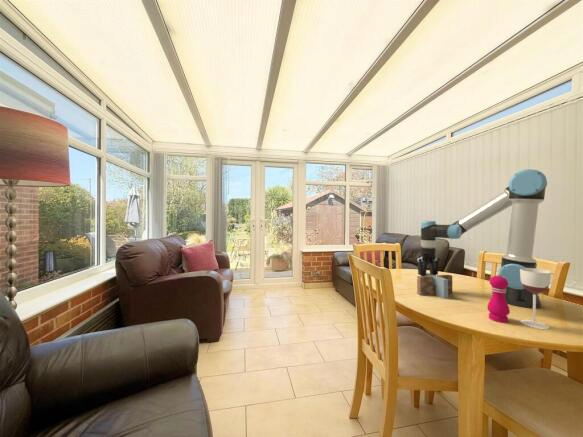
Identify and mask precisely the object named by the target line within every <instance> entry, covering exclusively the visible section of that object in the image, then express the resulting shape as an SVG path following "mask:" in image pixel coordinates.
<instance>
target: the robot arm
mask: <svg viewBox="0 0 583 437" xmlns="http://www.w3.org/2000/svg"><path fill="white" fill-rule="evenodd" d="M547 179H548V178H547V176H546V175H545V174H544V173H543V172H542V171H540V170H537V169H522V170H519V171H517V172H516V173H514V174H512V176H511V177H510V179H509V181H508V186H507V187H505V188H504V191H503V192H502V193H500V194H498V195H496V196H494V198H492V199H490V200H488V201H487V202H485V203H484V204H482V205H481V206H479V207H477V208H476V209H474V210H472V211H471V212H469V213H468V214H466V215H464V216H463V217H461V218H460V219H458V220H457V221H455V222H453V223H451V224H437V222H436V221H435V220H422V221H421V222H420V223H421V224H420V246H421V247H420V254H421V255H420V257H419V258H416V261H417V274H418V276H426V272H427V269H428V268H429V273H430V274H433V275H436V276H437V275H439V262H440V258H439V257H436V254H437V253H436V250H437V249H436V246H437V245H436V244H437V242H436V238H437V239H438V238H439V239H449V240H450V239H451V240H453V239H455V240H459V239H460V238H461V237H462V235H464V234H465V233H466V232H468V231H470V230H471V229H473V228H474V227H477V226H479V225H480V224H482V223H484V222H486V221H487V220H489V219H491V218H493V217H494V216H495V215H498V214H500V213H502V212H503V211H504V210H506V209H508V208H510V207H511V213H510V222H509V228H508V229H509V230H508V231H509V232H508V239H507V240H508V241H507V248H506V254H504V255H502V256H501V264H500V268H499V270H498V273H501V277H504V278H505V279H506V280H507V281H508V286H507V287H506V288H505V289H506V293H505V300H506V302H507V304H508V305H509V304H510V305H512V306H517V307H521V308H528V309H533V293H531V292H530V291H528V290H526V289H525V288H524V287H523V285H522V283H521V278H520V268H535V269H537V266H538V264H537V260H536V259H535V258H533V251H534V245H535V244H534V242H535V236H536V228H537V221H538V220H537V219H538V213H539V212H538V211H539V205H540V204H541V203H542V202H544V201H545V195H546V189H547V186H548V181H547ZM541 307H542V300H541V299H540V296H539V294H536V309H538V308H541Z"/></svg>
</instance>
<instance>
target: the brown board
mask: <svg viewBox="0 0 583 437" xmlns="http://www.w3.org/2000/svg"><path fill="white" fill-rule="evenodd" d="M436 276H439V277H442V278H445V279H447V280H448V295H449V294H453V275H451V274H438V275H436ZM416 277H417V278H416V280H417V281H416V284H417V286H416V288H417V289H416V294H417V295H419V296H429V295H431V296H432V295H433V296H434V295H436V285H433V277H432V276H421V275H417V276H416Z"/></svg>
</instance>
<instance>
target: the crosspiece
mask: <svg viewBox="0 0 583 437" xmlns="http://www.w3.org/2000/svg"><path fill="white" fill-rule="evenodd" d="M426 276H432V277H433V285H436V294H435V296H437V297H440V298H441V299H443V300H445V299H448V298H449V294H448V280H447V279H445V278H442V277H439V276H437V275H433V274H430V272H427V271H426Z"/></svg>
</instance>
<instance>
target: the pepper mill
mask: <svg viewBox="0 0 583 437" xmlns="http://www.w3.org/2000/svg"><path fill="white" fill-rule="evenodd" d="M489 284H490V290H491V293H492V294H491V297H490V300H489V301H488V304H487V307H486V308H487V309H486V310H488V312H489V313H488V319H490V320H492V321H493V322H496V323H497V322H498V323H502V324H503V323H505V324H507V323H508V322H509V314H510V311H511V309H510V306H509V304H508V303H507V302H506V300H505V293H506V289H505V288H506V287H507V286H508V281H507V280H506V279H505V278H504V277H501V273H499V272H497V273H496V274H495V275H494V276H492V277H490V279H489Z"/></svg>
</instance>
